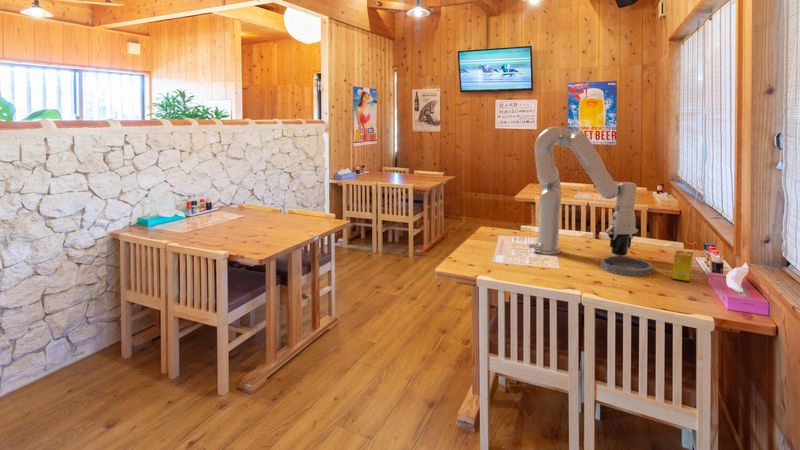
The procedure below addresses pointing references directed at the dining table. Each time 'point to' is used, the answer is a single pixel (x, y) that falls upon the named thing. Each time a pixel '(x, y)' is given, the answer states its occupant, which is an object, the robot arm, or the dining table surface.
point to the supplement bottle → (621, 245)
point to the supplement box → (682, 266)
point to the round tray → (626, 266)
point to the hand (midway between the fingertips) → (619, 246)
